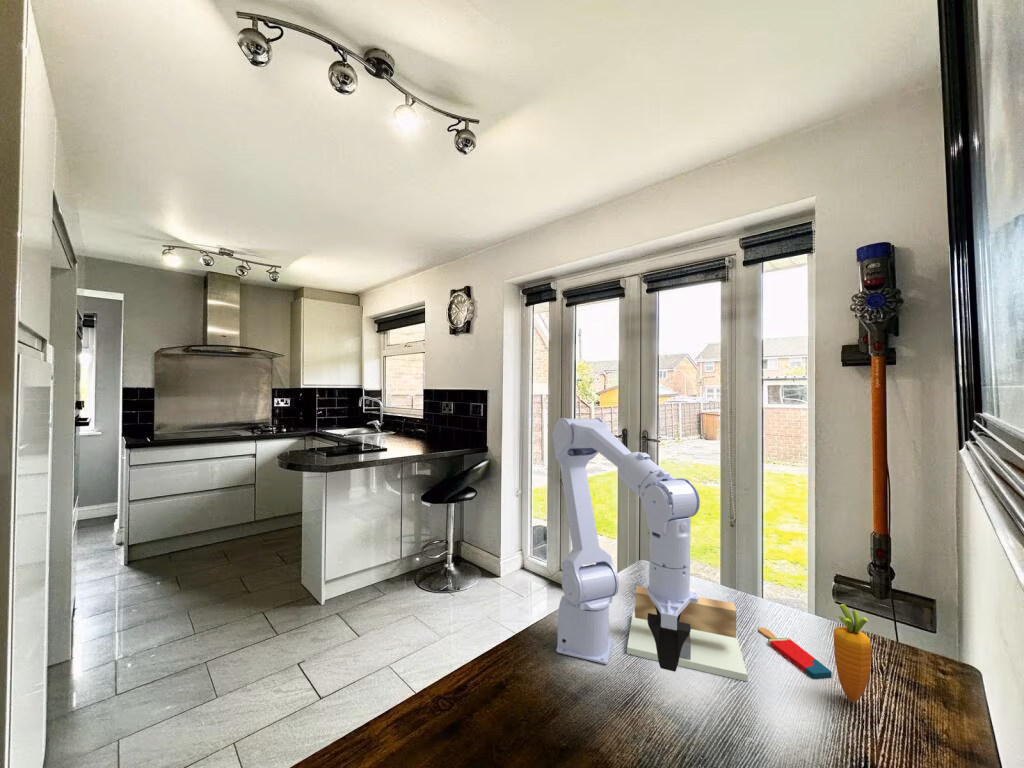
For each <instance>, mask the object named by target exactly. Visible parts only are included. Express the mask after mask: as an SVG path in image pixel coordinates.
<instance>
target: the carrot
mask: <svg viewBox="0 0 1024 768" xmlns="http://www.w3.org/2000/svg"><path fill="white" fill-rule="evenodd" d="M839 608H840V610H841V612H842V614H843V615H844V617H843V616H841V615H839V616H838V617H837V618H838V619H839V620H840V621H841V623H843V625H844V626H837V627H834V629H833V650H834V661H835V665H836V672H837V676H838V681H839V683H840V685H841V689H842V690H843V693H844V694H845V696H846V699H848V700H849V702H850V703H856V702H857V701H858V700H859V699H860V698H861V697H862V695H863V694H864V693H865V691H866V689H867V685H868V682H869V679H870V673H871V666H872V665H871V664H872V644H871V641H870V638H869V636H868V635H867V634H866V633H864V632H862V631H860V630H861V629H862V628H863V627H864V625H865V624H867V623H868V622H869V620H868V618H866V617H865V616H862V617H860V614H859V611H857V610H852V615H851V613H850V610H849V609H848V607H847V605H846V604H844V603H841V604H840V605H839ZM852 616H853V617H852Z"/></svg>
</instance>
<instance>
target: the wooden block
mask: <svg viewBox="0 0 1024 768" xmlns="http://www.w3.org/2000/svg"><path fill="white" fill-rule="evenodd" d="M634 597H635V599H634V612H635V618H639V619H644V620H647V618H648V613H651V614H656V615H657V612H656V608H655V604H654V603H653V601H652V600H651V598H650V597H649V595H648V593H647V587H644V586H635V594H634ZM679 622H683V623H688V624H690V627H691V629H693V630H698V631H703V632H708V633H713V634H718V635H723V636H728V637H733V638H736V636H737V609H736V605H735V603H734V602H729V601H722V600H717V599H712V598H711V599H710V598H705V597H701V596H700V597H698V603H693V602H690V603H689V604H688V605H687V606H686V607H685V609H684V610H683V611H682V612H681V615H680V619H679Z"/></svg>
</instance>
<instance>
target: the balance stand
mask: <svg viewBox="0 0 1024 768" xmlns="http://www.w3.org/2000/svg"><path fill="white" fill-rule="evenodd" d="M626 654H627V655H630V654H631V655H630V656H635V657H638V658H643V659H649V660H653V661H657V662H659V661H658V655H657V649H656V643H655V640H654V637H653V634H652V632H651V630H650V628H649V626H648V622H647V620H644V619H639V618H635V610H634V611H632V616H631V623H630V628H629V636H628V641H627V647H626ZM744 661H745V660H744V658H743V654H742V649H741V648H740V643H739V640H738V636H737V635H736V638H733V637H728V636H723V635H718V634H713V633H708V632H703V631H698V630H693V629H691V631H690V634H689V636H688V637H687V638H686V640H685V642H684V644H683V646H682V649H681V653H680V657H679V662H678V666H677V667H682V668H687V669H691V670H695V671H700V672H704V673H709V674H712V675H713V674H714V675H717V676H722V677H727V678H731V679H733V680H734V679H735V680H739V681H743V682H746V683H747V682H748V677H749V676H748V672H747V671H748V670H747V667H746V665H745V662H744Z"/></svg>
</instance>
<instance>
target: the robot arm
mask: <svg viewBox="0 0 1024 768" xmlns="http://www.w3.org/2000/svg"><path fill="white" fill-rule="evenodd" d="M610 429H611V428H610V424H609V423H608V422H606V421H604V419H602V418H600V417H594V418H566V417H560V418H559V419H558V420H557V421H556V423H555V425H554V427H553V430H552V432H551V433H552V434H551V435H552V443H553V448H554V454H555V455H554V456H555V460H556V461H557V462H558V463H559V467H560V476H561V480H562V481H561V482H562V488H563V494H564V499H565V500H564V501H565V507H566V512H567V513H566V514H567V521H568V526H569V527H568V528H569V534H570V542H571V548H572V549H571V550H570V552H569V553H568V554H567V555H566V556H565V557H564V559H563V560H562V562H561V566H562V567H561V569H562V575H561V588H562V591H563V594H564V595H562V596H561V599H560V602H559V605H558V612H557V614H558V615H557V647H556V652H557V654H558V653H559V654H562V655H566V656H571V657H575V658H579V659H583V660H587V661H591V662H596V663H599V664H602V665H603V664H604V665H608V663H609V660H610V656H611V655H610V654H611V650H612V646H613V642H614V641H613V638H611V637H609V632H610V631H609V628H610V626H609V625H610V623H609V622H610V617H609V615H610V604H612V603H613V597H615V596H616V595H617V594H618V592H619V590H620V578H619V576H618V572H617V570H616V568H615V566H614V563H613V558H612V555H611V554H609V553H608V552H606V551H605V550H604V549H603V548H602V547H601V546H600V543H599V537H598V532H597V526H596V519H595V515H594V513H595V512H594V509H593V508H594V506H593V502H592V498H591V497H592V496H591V490H590V484H589V479H588V473H587V466H588V463H589V462H590V461H591V460H593V459H594V458H595V457H596V456H597V455H598V454H599V455H601V456H603V457H604V458H605V459H606V460H607V461H609V462H610V463H611V464H612V465H614V466H616V468H617V475H618V478H619V480H621V481H622V482H623V483H624V484H625V485H626V486H627V487H629V489H630V490H631V491H633V492H634V494H635V495H637V496H638V497H639V498H640V501H641V505H642V508H643V511H644V513H645V516H646V525H647V529H648V530H649V531H650V535H649V555H648V556H649V560H648V563H649V564H648V585H647V587H646V588H647V593H648V595H649V597H650V598H651V600H652V601H653V603H654V604H655V608H656V612H657V615H656V614H651V613H648V618H647V622H648V626H649V628H650V630H651V632H652V634H653V637H654V640H655V643H656V649H657V655H658V661H657V662H658V664H659V668H660V669H662V670H666V671H671V672H677V668H678V667H679V666H678V662H679V657H680V653H681V649H682V646H683V644H684V642H685V640H686V638H687V637H688V636H689V634H690V631H691V627H690V624H688V623H683V622H679V619H680V615H681V612H682V611H683V610H684V609H685V607H686V606H687V605H688V604H689V603H690V602H693V603H698V594H699V593H698V592H697V593H698V594H697V593H695V592H691V591H690V586H691V584H690V583H691V581H690V580H691V579H690V578H691V575H690V574H691V527H692V526H691V522H692V520H691V519H692V518H693V517H694V516H696V515H697V514H698V513H699V509H700V506H701V499H700V495H699V492H698V490H697V488H696V486H694V484H693V483H691V481H690V480H689V479H687V478H684V477H683V478H682V477H681V478H680V477H678V478H676V477H675V476H671V474H670V472H668V470H665V469H663V468H661V467H660V466H659V465H658V464H656V463H655V462H654V461H653V460H652V459H650V458H651V456H650V454H648V453H647V452H640V451H634V452H631V450H629V448H628V447H626V445H625V444H623V442H622V441H620V440H619V439H618V438H617V437H616V436H615V435H614V434H613V433H612V432H611V430H610ZM583 565H584V566H583Z"/></svg>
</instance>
